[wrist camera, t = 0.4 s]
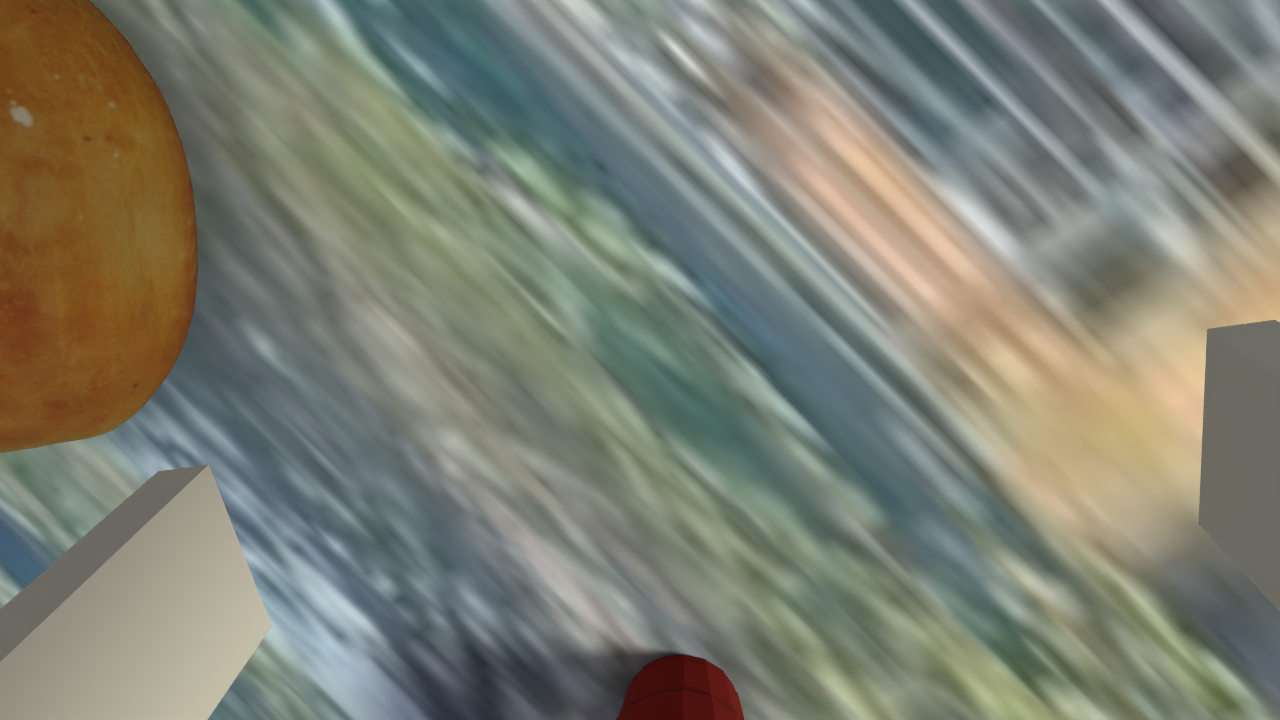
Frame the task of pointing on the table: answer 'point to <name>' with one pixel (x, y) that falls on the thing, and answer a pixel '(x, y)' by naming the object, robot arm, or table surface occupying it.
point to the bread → (86, 227)
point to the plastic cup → (681, 692)
